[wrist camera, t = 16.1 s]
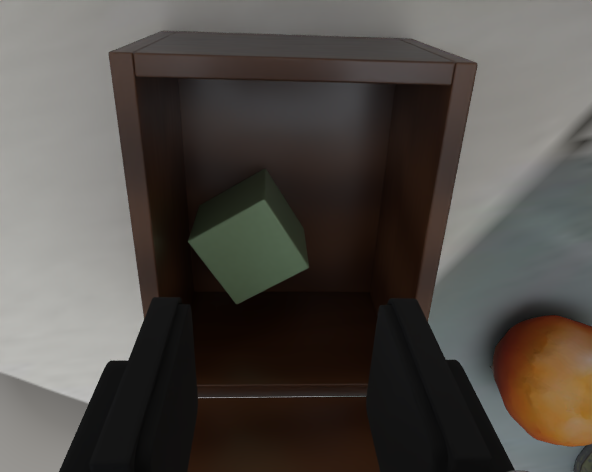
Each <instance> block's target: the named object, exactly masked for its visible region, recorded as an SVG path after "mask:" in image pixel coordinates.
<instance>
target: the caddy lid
mask: <svg viewBox="0 0 592 472" xmlns="http://www.w3.org/2000/svg"><path fill="white" fill-rule="evenodd" d="M187 472H380V469H379V464H378V460H377V455H376V451H375V447H374V442H373V438H372V434H371V429H370V425H369V420H368V416H367V410H366V397H267V398H198V410H197V418H196V424H195V430H194V436H193V441H192V447H191V453H190V459H189V465H188V470H187Z"/></svg>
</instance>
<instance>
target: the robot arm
mask: <svg viewBox="0 0 592 472" xmlns="http://www.w3.org/2000/svg"><path fill="white" fill-rule="evenodd" d="M197 410H198V393H197V379H196V365H195V351H194V337H193V323H192V310H191V305H190V304H182V300H181V298H180V297H154V298H153V299H152V301H151V303H150V306H149V308H148V311H147V314H146V316H145V319H144V321H143V324H142V327H141V329H140V332H139V334H138V337H137V340H136V342H135V345H134V347H133V350H132V353H131V355H130V358H129V360H128V361H110V362H108V363H107V365H106V367H105V368H104V371H103V373H102V375H101V377H100V380H99V382H98V384H97V386H96V389H95V391H94V393H93V396H92V398H91V400H90V402H89V405H88V407H87V409H86V411H85V414H84V416H83V418H82V421H81V423H80V425H79V427H78V430H77V432H76V434H75V437H74V439H73V441H72V443H71V446H70V448H69V450H68V452H67V455H66V457H65V459H64V462H63V464H62V467H61V468H60V471H59V472H187V470H188V465H189V459H190V453H191V447H192V441H193V436H194V430H195V424H196V418H197ZM366 410H367V416H368V420H369V425H370V429H371V434H372V438H373V442H374V447H375V451H376V455H377V460H378V464H379V469H380V472H528V471H515V469H514V468H513V466H512V464H511V462H510V460H509V458H508V456H507V454H506V452H505V450H504V448H503V446H502V444H501V442H500V440H499V438H498V436H497V434H496V432H495V430H494V428H493V426H492V424H491V422H490V420H489V418H488V416H487V415H486V413H485V411H484V409H483V407H482V405H481V403H480V401H479V399H478V397H477V395H476V393H475V391H474V389H473V387H472V385H471V383H470V381H469V379H468V377H467V375H466V373H465V371H464V369H463V368H462V366H461V365H460V363H459V362H458V361H456V360H445V357H444V355H443V353H442V351H441V349H440V347H439V345H438V343H437V341H436V338H435V336H434V334H433V332H432V330H431V328H430V326H429V324H428V322H427V319H426V317H425V315H424V313H423V311H422V309H421V307H420V305H419V303H418V301H417V299H411V298H390V299H389V300H388V303H387V305H380V306H379V310H378V316H377V324H376V331H375V338H374V345H373V352H372V360H371V367H370V374H369V381H368V388H367V395H366Z"/></svg>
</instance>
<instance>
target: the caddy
mask: <svg viewBox="0 0 592 472" xmlns="http://www.w3.org/2000/svg"><path fill="white" fill-rule="evenodd" d="M109 60H110V68H111V75H112V83H113V90H114V98H115V105H116V112H117V120H118V127H119V135H120V142H121V150H122V157H123V165H124V172H125V180H126V187H127V195H128V202H129V209H130V217H131V224H132V232H133V239H134V247H135V254H136V262H137V269H138V277H139V284H140V291H141V299H142V306H143V314H144V319H145V316H146V314H147V311H148V308H149V306H150V303H151V301H152V299H153V298H154V297H180V298H181V300H182V304H190V305H191V310H192V323H193V337H194V351H195V365H196V379H197V393H198V397H292V396H366V395H367V388H368V381H369V374H370V367H371V360H372V352H373V345H374V338H375V331H376V324H377V316H378V310H379V306H380V305H387V303H388V300H389V299H390V298H411V299H417V301H418V303H419V305H420V307H421V309H422V311H423V313H424V315H425V317H426V319H427V322H428V317H429V312H430V307H431V301H432V296H433V291H434V286H435V281H436V276H437V271H438V265H439V260H440V255H441V250H442V245H443V240H444V235H445V229H446V224H447V219H448V214H449V209H450V204H451V199H452V194H453V188H454V183H455V178H456V173H457V168H458V163H459V158H460V152H461V147H462V142H463V137H464V132H465V127H466V122H467V116H468V111H469V106H470V101H471V96H472V91H473V86H474V80H475V75H476V70H477V63H476V62H473V61H470V60H468V59H465V58H462V57H459V56H457V55H454V54H451V53H449V52H446V51H443V50H440V49H438V48H435V47H432V46H430V45H427V44H424V43H421V42H419V41H416V40H413V39H401V38H371V37H340V36H309V35H278V34H247V33H217V32H186V31H161V32H158V33H155V34H153V35H150V36H148V37H146V38H143V39H141V40H138V41H136V42H133V43H131V44H128V45H126V46H123V47H121V48H118V49H116V50H113V51H111V52H109ZM263 169H266V170H267V171H268V173H269V174H270V176H271V178H272V179H273V181H274V182H275V184H276V186H277V187H278V189H279V190H280V192H281V193H282V195H283V197H284V198H285V200H286V201H287V203H288V205H289V206H290V208H291V209H292V211H293V212H294V214H295V216H296V217H297V219H298V220H299V222H300V223H301V225H302V227H303V228H304V233H305V240H306V248H307V255H308V263H309V268H308V269H306V270H304V271H302V272H300V273H298V274H296V275H294V276H292V277H290V278H288V279H286V280H284V281H282V282H280V283H278V284H276V285H274V286H272V287H270V288H268V289H266V290H265V291H263V292H261V293H259V294H257V295H255V296H253V297H251V298H249V299H247V300H245V301H243V302H241V303H239V304H236V303H235V302H234V301H233V300H232V298H231V297H230V296H229V294H228V293H227V292H226V291H225V289H224V288H223V287H222V285H221V284H220V283H219V281H218V280H217V279H216V278H215V276H214V275H213V274H212V272H211V271H210V270H209V269H208V267H207V266H206V265H205V263H204V262H203V261H202V260H201V258H200V257H199V256H198V254H197V253H196V252H195V250H194V249H193V248H192V247H191V245H190V244H189V243H188V239H189V236H190V233H191V230H192V227H193V224H194V221H195V218H196V215H197V212H198V209H199V206H200V205H201V204H203V203H205V202H207V201H208V200H210V199H212V198H214V197H216V196H217V195H219V194H221V193H223V192H224V191H226V190H228V189H230V188H231V187H233V186H235V185H237V184H239V183H240V182H242V181H244V180H246V179H247V178H249V177H251V176H253V175H254V174H256V173H258V172H260V171H262V170H263Z"/></svg>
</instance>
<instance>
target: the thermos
mask: <svg viewBox="0 0 592 472" xmlns="http://www.w3.org/2000/svg"><path fill="white" fill-rule="evenodd" d="M574 471H575V472H592V444H589V445H587V446H586V447H585V448H584V449H583V451H582V452H581V453H580V455H579V456H578V458H577V460H576V464H575V467H574Z"/></svg>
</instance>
